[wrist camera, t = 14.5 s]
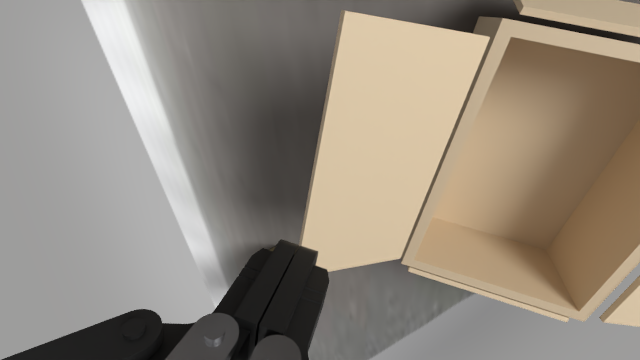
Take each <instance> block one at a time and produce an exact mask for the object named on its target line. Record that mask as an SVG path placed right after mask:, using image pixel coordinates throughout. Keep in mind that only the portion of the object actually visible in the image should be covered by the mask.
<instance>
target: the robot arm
mask: <svg viewBox="0 0 640 360" xmlns="http://www.w3.org/2000/svg"><path fill="white" fill-rule="evenodd" d="M317 257H318V251H316V250H313V249H310V248H307V247H303V246H299V245H297V244H294V243H291V242H288V241H285V240H282V239H281V240H280V241H279V242H278V244H277V245H276V247H275V249H274V250H273V251H270V250H267V249H264V248H263V249H261V250H260V251H258V252H257V253H255V254H254V255H252V256H251V258H250V259H249V261H248V262H247V264H246V265H245V268H243V270H242V271H241V273H240V274H239V276H238V277H237V278H236V280H235V281H234V283H233V284H232V286H231V287H230V289H229V290H228V292H227V293H226V295H225V296H224V297H223V299H222V300H221V302H220V303H219V305H218V306H217V308H216V309H215V310H214V312H213V313H212V314H208V315H206V316H204V317H202V318H200V319H199V320H198V321H197V322H195V323H191V324H166V323H165V324H164V323H162V321H161V318H160V316H159V315H157V313H155V312H153V311H151V310H146V309H139V310H134V311H130V312H128V313H125V314H122V315H120V316H117V317H115V318H112V319H109V320H106V321H104V322H101V323H98V324H95V325H93V326H90V327H87V328H85V329H82V330H79V331H77V332H74V333H71V334H69V335H66V336H63V337H61V338H58V339H55V340H53V341H50V342H48V343H45V344H42V345H39V346H37V347H34V348H31V349H29V350H26V351H23V352H21V353H18V354H15V355H13V356H10V357H7V358H5V359H2V360H309V358H308V350H309V347H310V344H311V341H312V338H313V335H314V332H315V329H316V326H317V322H318V319H319V316H320V313H321V310H322V307H323V303H324V299H325V296H326V292H327V288H328V284H329V277H328V271H327V269H325V268H322V267H319V266H316V262H317Z"/></svg>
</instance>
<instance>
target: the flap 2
mask: <svg viewBox="0 0 640 360" xmlns="http://www.w3.org/2000/svg"><path fill="white" fill-rule="evenodd" d="M600 319H601V320H602V321H603V322H605V323H613V324H621V325H629V326H639V327H640V276H639V277H638V278H637V279H636V280H635V281H634V282H633V283H632V284H631V285H630V286H629V287H628V288H627V289H626V290H625V291H624V292H623V293H622V294H621V295H620V296H619V298H618V299H617V300H616V301H615V302H614V303H613V304H612V305H611V306H610V307H609V308H608V309H607V310H606V311H605V312H604V313H603V314H602V315H601V316H600Z"/></svg>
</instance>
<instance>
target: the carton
mask: <svg viewBox="0 0 640 360" xmlns="http://www.w3.org/2000/svg"><path fill="white" fill-rule="evenodd" d="M513 1H514V3H515V5H516V7H517V9H518V12H519V14H521V15H526V16H532V17H537V18H542V19H547V20H553V21H558V22H563V23H568V24H574V25H579V26H584V27H590V28H595V29H600V30H605V31H611V32H616V33H621V34H626V35H632V36H637V37H640V4H635V3H630V2H624V1H618V0H513ZM473 34H478V35H484V36H488V37H490V39H489V42H488V44H487V47H486V49H485V51H484V54H483V56H482V59H481V61H480V64H479V66H478V69H477V71H476V74H475V76H474V79H473V81H472V83H471V86H470V88H469V91H468V93H467V96H466V98H465V101H464V103H463V106H462V108H461V110H460V113H459V115H458V118H457V120H456V123H455V125H454V128H453V130H452V133H451V135H450V138H449V140H448V142H447V145H446V147H445V150H444V152H443V155H442V157H441V160H440V162H439V165H438V167H437V170H436V172H435V174H434V177H433V179H432V182H431V184H430V187H429V189H428V192H427V194H426V197H425V199H424V201H423V204H422V206H421V209H420V211H419V214H418V216H417V219H416V221H415V224H414V226H413V229H412V231H411V233H410V236H409V238H408V241H407V243H406V246H405V248H404V251H403V253H402V261H401V264H404V265H407V266H408V271H409V272H412V273H415V274H418V275H421V276H424V277H427V278H430V279H433V280H437V281H440V282H443V283H446V284H449V285H452V286H455V287H458V288H462V289H465V290H468V291H471V292H474V293H477V294H480V295H483V296H486V297H490V298H493V299H496V300H499V301H502V302H505V303H508V304H511V305H515V306H518V307H521V308H524V309H527V310H530V311H533V312H536V313H539V314H543V315H546V316H549V317H552V318H555V319H558V320H562V321H564V322H568V320H569V317H571V318H574V319H577V320H580V321H583V322H584V321H585V320H586V319H587V318H588V317H589V316H590V315H591V314H592V313H593V312H594V311H595V310H596V308H597V307H598V306H599V305H600V304H601V303H602V302H603V301H604V300H605V299H606V298H607V297H608V296H609V295H610V294H611V292H612V291H613V290H614V289H615V288H616V287H617V286H618V285H619V284H620V283H621V282H622V281H623V280H624V279H625V277H626V276H627V275H628V274H629V273H630V272H631V271H632V270H633V269H634V268H635V267H636V266H637V265H638V263H640V44H634V43H629V42H624V41H619V40H614V39H609V38H603V37H598V36H593V35H588V34H583V33H578V32H572V31H567V30H562V29H557V28H552V27H547V26H541V25H536V24H531V23H526V22H521V21H516V20H510V19H505V18H496V17H482V16H479V18H478V21H477V23H476V26H475V28H474V31H473Z"/></svg>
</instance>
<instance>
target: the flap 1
mask: <svg viewBox="0 0 640 360" xmlns="http://www.w3.org/2000/svg"><path fill="white" fill-rule="evenodd" d="M489 39H490V37H488V36H484V35H478V34H472V33H467V32H461V31H456V30H450V29H445V28H439V27H433V26H428V25H422V24H417V23H411V22H406V21H400V20H394V19H389V18H383V17H378V16H372V15H367V14H361V13H355V12H350V11H344V10H341V15H340V21H339V26H338V32H337V38H336V43H335V49H334V54H333V60H332V65H331V71H330V76H329V82H328V87H327V93H326V98H325V104H324V109H323V115H322V120H321V126H320V131H319V137H318V143H317V148H316V154H315V159H314V165H313V170H312V176H311V181H310V187H309V192H308V198H307V203H306V209H305V214H304V220H303V225H302V231H301V236H300V242H299V246H303V247H307V248H310V249H313V250H316V251H318V257H317V262H316V266H319V267H322V268H325V269H327V271H328V272H329V271H334V270H340V269H346V268H351V267H357V266H362V265H368V264H373V263H379V262H384V261H390V260H395V259H400V258H401V256H402V253H403V251H404V248H405V246H406V243H407V241H408V238H409V236H410V233H411V231H412V229H413V226H414V224H415V221H416V219H417V216H418V214H419V211H420V209H421V206H422V204H423V201H424V199H425V197H426V194H427V192H428V189H429V187H430V184H431V182H432V179H433V177H434V174H435V172H436V170H437V167H438V165H439V162H440V160H441V157H442V155H443V152H444V150H445V147H446V145H447V142H448V140H449V138H450V135H451V133H452V130H453V128H454V125H455V123H456V120H457V118H458V115H459V113H460V110H461V108H462V106H463V103H464V101H465V98H466V96H467V93H468V91H469V88H470V86H471V83H472V81H473V79H474V76H475V74H476V71H477V69H478V66H479V64H480V61H481V59H482V56H483V54H484V51H485V49H486V47H487V44H488V42H489Z"/></svg>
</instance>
